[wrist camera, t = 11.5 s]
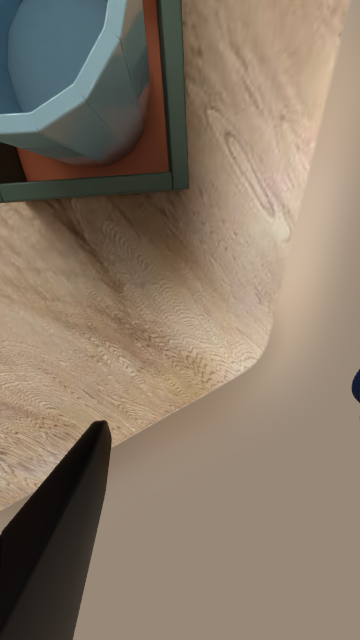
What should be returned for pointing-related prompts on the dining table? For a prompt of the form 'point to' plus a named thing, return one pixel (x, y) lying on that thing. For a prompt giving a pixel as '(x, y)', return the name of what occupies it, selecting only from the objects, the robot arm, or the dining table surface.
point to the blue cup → (74, 78)
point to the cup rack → (149, 153)
